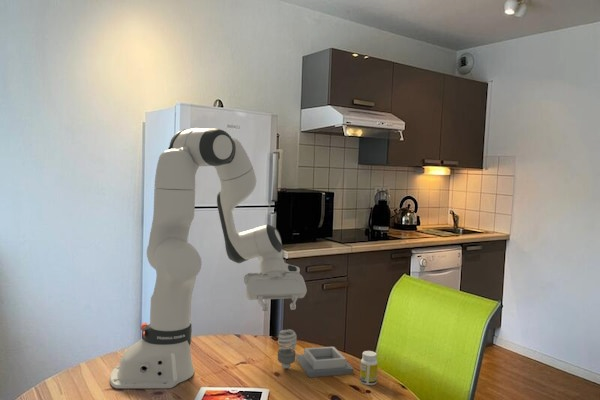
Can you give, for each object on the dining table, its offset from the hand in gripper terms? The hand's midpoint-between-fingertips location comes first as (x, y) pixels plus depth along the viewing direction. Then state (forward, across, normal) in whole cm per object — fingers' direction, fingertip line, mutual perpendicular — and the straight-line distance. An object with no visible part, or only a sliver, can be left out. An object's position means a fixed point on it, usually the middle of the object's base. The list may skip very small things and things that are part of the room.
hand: (279, 309), depth 146 cm
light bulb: (+18, 0, +3) cm, 18 cm away
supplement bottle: (+28, +21, -6) cm, 35 cm away
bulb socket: (+18, +12, +3) cm, 22 cm away
